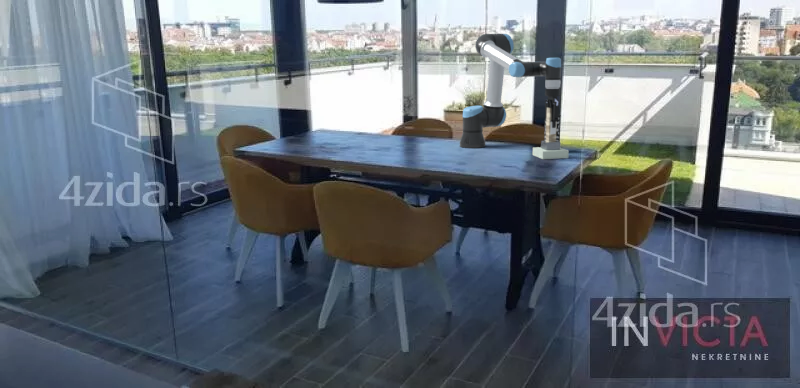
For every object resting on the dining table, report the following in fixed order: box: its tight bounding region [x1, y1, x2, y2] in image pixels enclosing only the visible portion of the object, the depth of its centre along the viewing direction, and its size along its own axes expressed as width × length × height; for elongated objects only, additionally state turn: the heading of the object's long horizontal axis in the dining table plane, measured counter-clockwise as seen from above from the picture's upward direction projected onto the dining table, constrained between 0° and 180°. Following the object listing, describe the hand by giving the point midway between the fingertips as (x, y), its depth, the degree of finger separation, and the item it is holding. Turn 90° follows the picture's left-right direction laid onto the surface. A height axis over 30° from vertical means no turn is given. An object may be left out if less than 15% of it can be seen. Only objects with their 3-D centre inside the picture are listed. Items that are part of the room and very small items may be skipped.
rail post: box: [546, 108, 557, 142], centre depth 324 cm, size 4×4×18 cm
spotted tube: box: [543, 114, 562, 143], centre depth 343 cm, size 8×8×20 cm
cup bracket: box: [540, 140, 561, 150], centre depth 327 cm, size 8×8×4 cm
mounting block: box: [532, 146, 570, 160], centre depth 328 cm, size 14×14×4 cm
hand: (551, 133), depth 325 cm, fingers closed on rail post, 4 cm apart
